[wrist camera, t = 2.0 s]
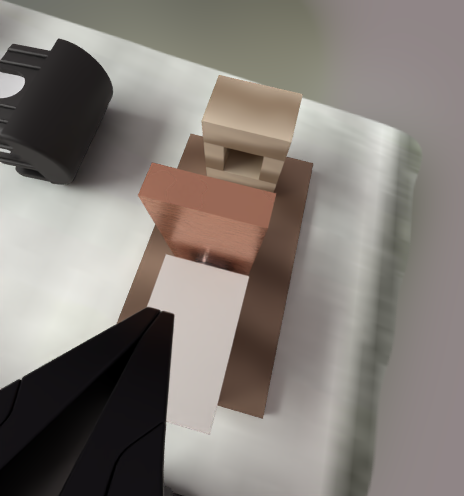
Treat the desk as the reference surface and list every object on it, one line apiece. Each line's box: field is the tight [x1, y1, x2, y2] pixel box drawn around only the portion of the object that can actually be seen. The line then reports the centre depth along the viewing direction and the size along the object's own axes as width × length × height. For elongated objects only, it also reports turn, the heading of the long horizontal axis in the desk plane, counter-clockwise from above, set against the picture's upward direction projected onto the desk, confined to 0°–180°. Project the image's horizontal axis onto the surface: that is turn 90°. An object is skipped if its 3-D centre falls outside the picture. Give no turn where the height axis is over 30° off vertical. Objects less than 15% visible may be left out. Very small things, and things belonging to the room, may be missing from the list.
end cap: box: [0, 39, 113, 185], centre depth 23 cm, size 10×7×7 cm
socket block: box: [202, 75, 302, 193], centre depth 21 cm, size 4×6×7 cm
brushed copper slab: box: [138, 163, 276, 276], centre depth 14 cm, size 13×5×10 cm, turn 165°
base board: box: [117, 134, 313, 419], centre depth 22 cm, size 22×12×1 cm, turn 165°
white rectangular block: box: [147, 254, 249, 435], centre depth 17 cm, size 8×5×6 cm, turn 165°
